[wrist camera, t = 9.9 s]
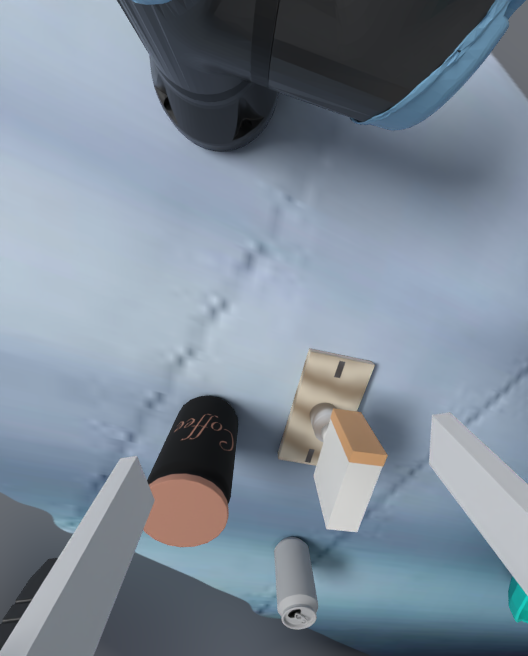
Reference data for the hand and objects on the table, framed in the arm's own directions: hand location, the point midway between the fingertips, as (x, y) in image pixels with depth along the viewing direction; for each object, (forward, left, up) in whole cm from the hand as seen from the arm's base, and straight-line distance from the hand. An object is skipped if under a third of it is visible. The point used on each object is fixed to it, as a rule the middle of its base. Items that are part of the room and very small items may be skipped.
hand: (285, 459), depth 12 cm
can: (+51, +18, -32) cm, 63 cm away
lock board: (+16, +14, -31) cm, 38 cm away
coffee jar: (+22, -5, -32) cm, 39 cm away
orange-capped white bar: (+16, +14, -26) cm, 34 cm away
